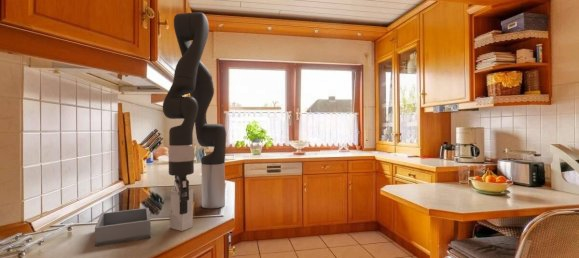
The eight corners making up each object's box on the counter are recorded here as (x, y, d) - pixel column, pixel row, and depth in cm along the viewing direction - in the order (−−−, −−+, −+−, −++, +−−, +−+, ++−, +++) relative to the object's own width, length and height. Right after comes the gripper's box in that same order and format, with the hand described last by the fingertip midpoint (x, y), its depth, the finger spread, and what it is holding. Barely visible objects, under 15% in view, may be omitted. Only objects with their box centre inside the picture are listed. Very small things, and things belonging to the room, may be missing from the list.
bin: (101, 229, 94) (101, 213, 94) (148, 222, 100) (148, 207, 100) (95, 246, 80) (94, 227, 80) (150, 237, 86) (150, 220, 86)
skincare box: (169, 228, 94) (168, 190, 94) (180, 224, 98) (180, 187, 98) (182, 231, 91) (182, 192, 91) (194, 227, 95) (193, 189, 95)
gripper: (197, 160, 90) (197, 214, 90) (190, 156, 103) (190, 203, 103) (170, 162, 87) (171, 218, 87) (166, 157, 99) (167, 206, 99)
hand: (181, 210), depth 95 cm, fingers open, 8 cm apart
